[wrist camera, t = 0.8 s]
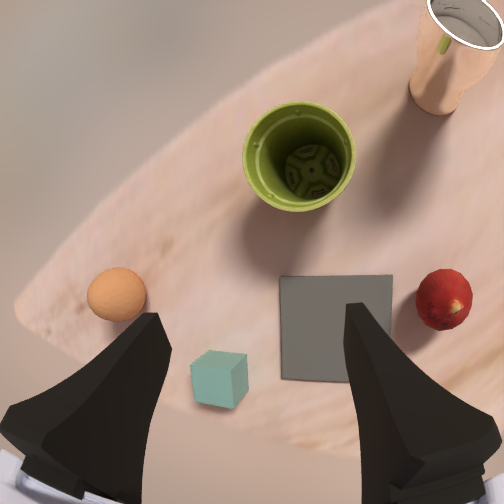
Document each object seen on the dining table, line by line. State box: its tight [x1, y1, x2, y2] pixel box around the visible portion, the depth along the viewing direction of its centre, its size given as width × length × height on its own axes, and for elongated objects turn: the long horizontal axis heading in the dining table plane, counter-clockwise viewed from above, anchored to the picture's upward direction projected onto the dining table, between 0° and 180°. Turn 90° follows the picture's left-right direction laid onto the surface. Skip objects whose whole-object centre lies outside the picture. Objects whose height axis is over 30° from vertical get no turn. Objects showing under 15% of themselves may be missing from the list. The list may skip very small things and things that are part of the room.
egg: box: [87, 268, 146, 321], centre depth 37 cm, size 7×7×9 cm
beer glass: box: [409, 0, 504, 116], centre depth 20 cm, size 7×7×15 cm
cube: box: [190, 350, 249, 409], centre depth 35 cm, size 5×5×5 cm
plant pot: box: [242, 101, 356, 212], centre depth 28 cm, size 9×9×9 cm
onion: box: [416, 269, 473, 331], centre depth 25 cm, size 6×6×8 cm
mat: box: [280, 275, 393, 382], centre depth 32 cm, size 12×12×1 cm
